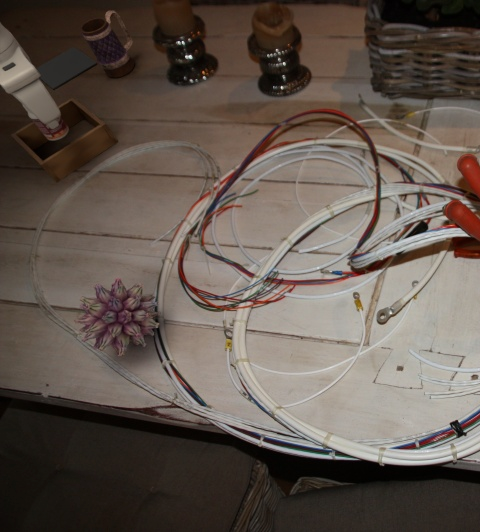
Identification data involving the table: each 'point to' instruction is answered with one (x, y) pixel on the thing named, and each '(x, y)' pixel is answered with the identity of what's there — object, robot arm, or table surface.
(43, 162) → the storage box
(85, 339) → the flower
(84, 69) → the mat
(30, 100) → the robot arm
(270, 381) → the table surface
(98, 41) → the mug
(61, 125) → the pill bottle
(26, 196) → the table surface
